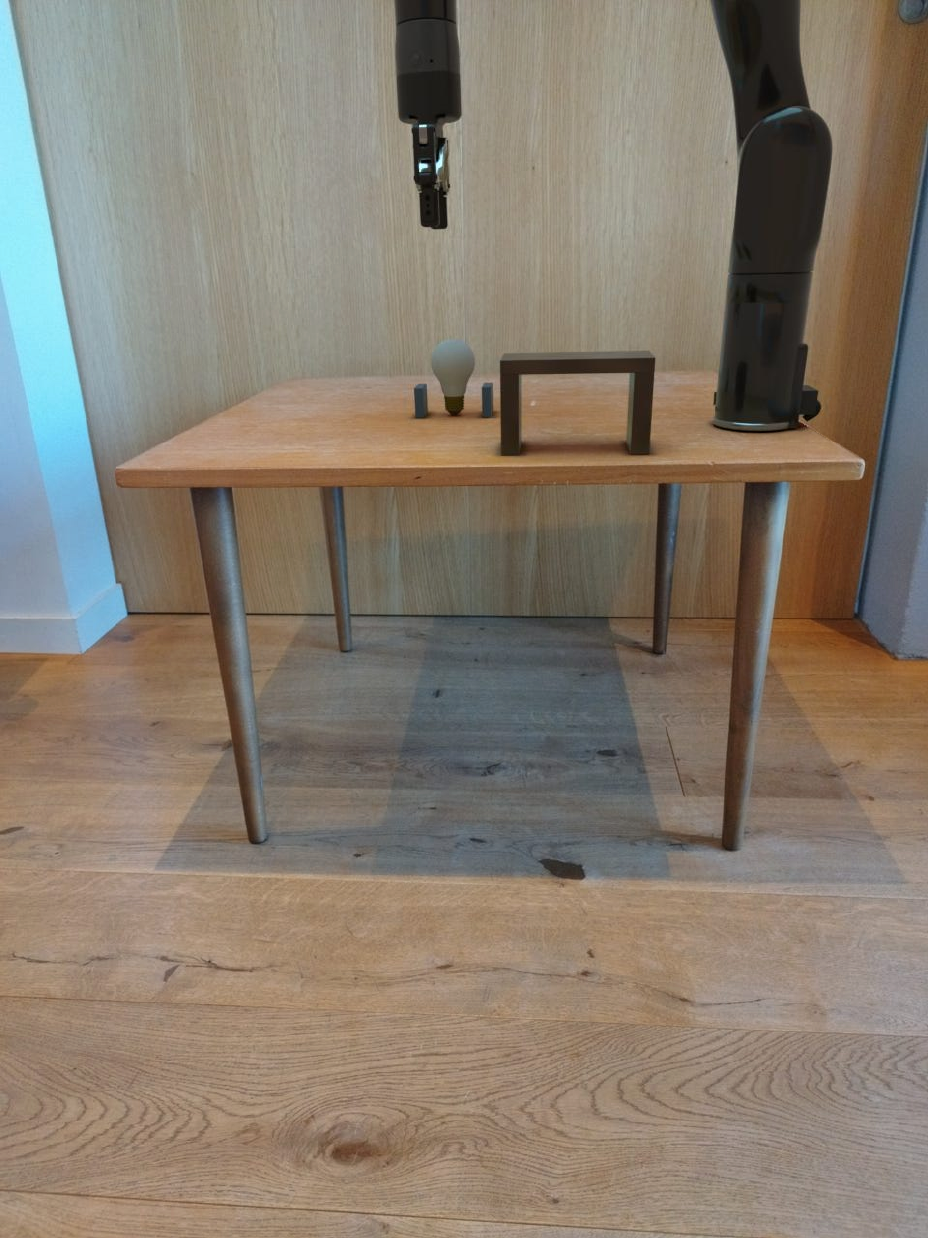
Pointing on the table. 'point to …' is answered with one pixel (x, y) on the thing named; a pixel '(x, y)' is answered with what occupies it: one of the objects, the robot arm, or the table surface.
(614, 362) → the dark brown rectangular arch
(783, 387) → the robot arm
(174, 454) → the table surface
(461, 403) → the light bulb
